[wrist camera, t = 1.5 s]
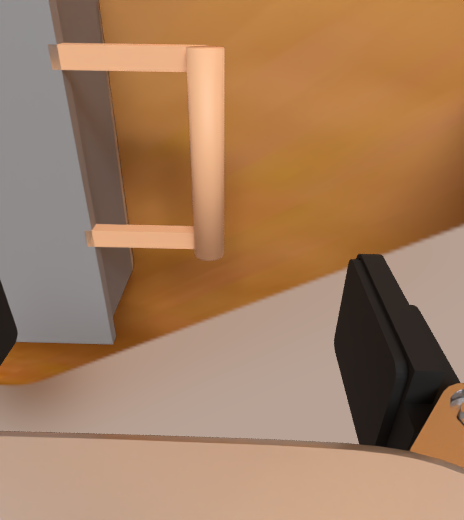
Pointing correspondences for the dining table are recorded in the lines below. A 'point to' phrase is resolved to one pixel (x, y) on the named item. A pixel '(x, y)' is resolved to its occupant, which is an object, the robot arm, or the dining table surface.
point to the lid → (85, 173)
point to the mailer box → (98, 139)
